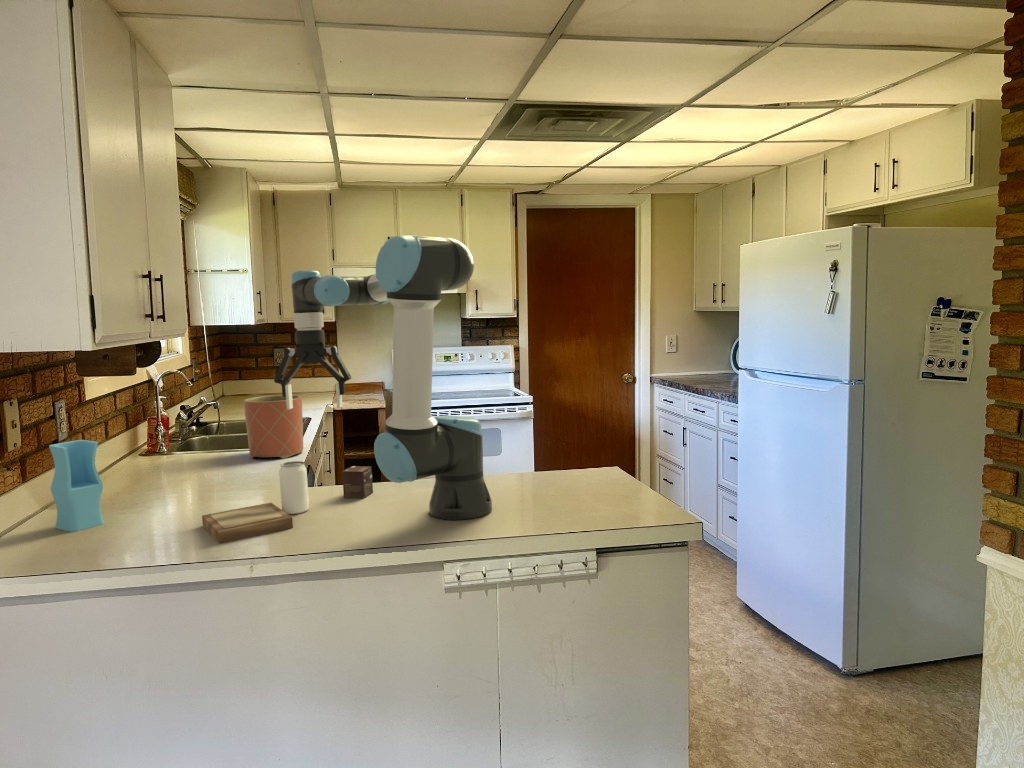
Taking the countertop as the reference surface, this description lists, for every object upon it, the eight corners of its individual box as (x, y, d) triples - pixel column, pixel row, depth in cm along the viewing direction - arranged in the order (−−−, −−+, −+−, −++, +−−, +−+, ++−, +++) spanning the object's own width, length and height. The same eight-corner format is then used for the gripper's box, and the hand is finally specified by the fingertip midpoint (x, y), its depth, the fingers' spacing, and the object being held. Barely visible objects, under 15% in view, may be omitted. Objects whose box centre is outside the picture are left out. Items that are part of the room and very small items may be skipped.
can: (314, 508, 174) (311, 461, 173) (296, 516, 168) (293, 467, 167) (294, 506, 177) (291, 460, 175) (276, 513, 171) (272, 465, 170)
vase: (71, 532, 161) (62, 448, 159) (55, 527, 165) (45, 445, 163) (106, 523, 168) (98, 441, 165) (89, 518, 172) (81, 439, 170)
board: (293, 527, 159) (292, 516, 159) (219, 543, 150) (218, 531, 150) (271, 512, 172) (270, 501, 172) (202, 525, 163) (202, 514, 162)
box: (364, 498, 182) (362, 471, 181) (343, 498, 183) (341, 471, 182) (373, 492, 188) (372, 466, 187) (352, 492, 189) (351, 465, 188)
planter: (236, 460, 234) (232, 402, 232) (265, 449, 253) (261, 394, 251) (289, 461, 231) (285, 401, 229) (314, 449, 250) (311, 394, 247)
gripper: (359, 327, 189) (363, 404, 191) (268, 330, 189) (274, 407, 191) (352, 328, 181) (357, 408, 183) (258, 331, 182) (264, 411, 184)
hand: (314, 408), depth 187 cm, fingers open, 13 cm apart
